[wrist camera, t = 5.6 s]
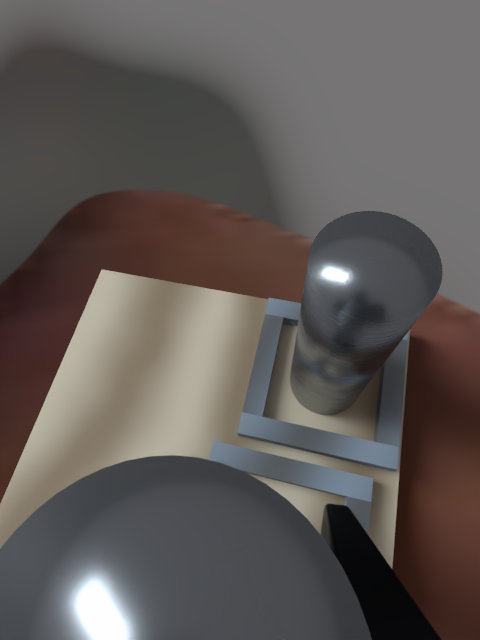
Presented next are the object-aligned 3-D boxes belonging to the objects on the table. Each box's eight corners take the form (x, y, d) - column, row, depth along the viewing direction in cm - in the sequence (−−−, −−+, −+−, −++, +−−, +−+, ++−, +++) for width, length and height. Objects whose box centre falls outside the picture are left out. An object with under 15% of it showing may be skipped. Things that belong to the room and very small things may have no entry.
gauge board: (403, 334, 24) (415, 318, 22) (324, 1310, 12) (335, 1456, 10) (108, 279, 26) (96, 262, 25) (-205, 1026, 14) (-273, 1100, 12)
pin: (312, 527, 14) (436, 560, 4) (269, 653, 12) (280, 1255, 2) (212, 479, 14) (87, 397, 4) (162, 592, 13) (-180, 843, 3)
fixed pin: (364, 354, 22) (444, 220, 12) (356, 422, 21) (439, 333, 11) (296, 341, 23) (319, 203, 13) (283, 406, 21) (298, 308, 11)
